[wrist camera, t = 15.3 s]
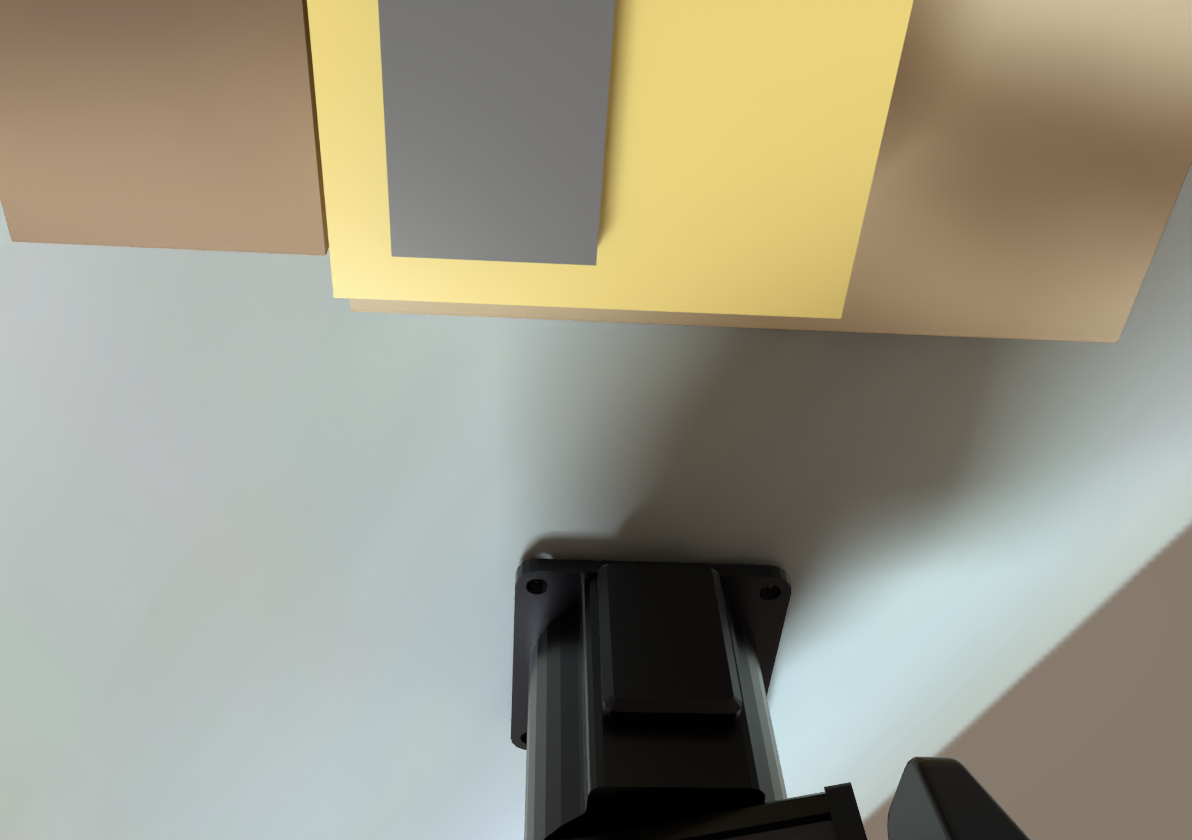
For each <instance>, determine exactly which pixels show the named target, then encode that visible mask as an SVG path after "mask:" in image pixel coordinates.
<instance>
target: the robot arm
mask: <svg viewBox="0 0 1192 840" xmlns="http://www.w3.org/2000/svg"><path fill="white" fill-rule="evenodd" d="M531 579H542V580H544V581H543V582H538V583H536V582H532V581H530V580H531ZM767 585H775V586H773V587H772V588H766V589H765V588H763V587H765V586H767ZM790 595H791V586H790V582H789V578H788V575H787V573H786V572H785V570H783V569H781V568H780V567H777V566H772V565H740V564H703V563H667V562H631V561H594V560H558V559H533V560H528V561H526V562H524V563H522V564H521V565H520V566H519V567H518V569H517V572H516V582H515V614H514V649H513V684H512V719H511V740H512V743H513V744H514V745H515V746H516V747H519V748H521V749H524V750H527V761H526V796H525V831H524V840H867V837H866V834H865V830H864V827H863V823H862V820H861V816H860V813H859V810H858V806H857V803H856V799H855V796H854V792H853V789H852V785H851V782H849V783H844V784H838V785H833V786H827V787H824V789H825V792H821V793H815V794H810V795H804V796H799V797H793V798H788V799H787V795H786V790H785V785H784V780H783V775H782V770H781V766H780V761H779V756H778V751H777V746H776V741H775V736H774V732H773V727H772V722H771V717H770V712H769V707H768V703H767V698H766V696H767V692H768V687H769V683H770V679H771V675H772V671H773V666H774V662H775V658H776V654H777V650H778V646H779V641H780V637H781V633H782V629H783V625H784V620H785V616H786V612H787V608H788V604H789V600H790ZM888 839H889V840H1030V839H1029V838H1028V837H1027V836H1026V835H1025V833H1024V832H1023V831H1022V830H1021V829H1020V828H1019V827H1018V826H1017V825H1016V823H1015V822H1014V821H1013V820H1012V819H1011V818H1010V817H1009V815H1008V814H1007V813H1006V812H1005V811H1004V810H1003V809H1002V808H1001V806H1000V805H999V804H998V803H997V802H996V801H995V800H994V799H993V798H992V796H991V795H990V794H989V793H988V792H987V791H986V790H985V789H984V787H983V786H982V785H981V784H980V783H979V782H978V781H977V780H976V778H975V777H974V776H973V775H972V774H971V773H970V772H969V771H968V770H967V768H966V767H965V766H964V765H962V764H961V763H960V762H959V761H957V760H955V759H953V758H949V757H914V758H912V759H911V760H910V761H909V762H908V763H907V765H906V767H905V769H904V772H903V774H902V777H901V780H900V782H899V785H898V788H897V790H896V793H895V796H894V798H893V801H892V803H891V806H890V810H889V813H888Z"/></svg>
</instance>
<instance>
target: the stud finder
mask: <svg viewBox="0 0 1192 840" xmlns="http://www.w3.org/2000/svg"><path fill="white" fill-rule="evenodd" d="M912 5H913V0H307V7H308V18H309V29H310V40H311V51H312V62H313V73H314V84H315V95H316V106H317V118H318V129H319V140H320V151H321V162H322V173H323V184H324V195H325V206H326V217H327V228H328V239H329V250H330V261H331V272H332V283H333V294H334V298H356V299H380V300H404V301H428V302H451V303H475V304H499V305H523V306H547V307H571V308H595V309H619V310H643V311H667V312H691V313H715V314H738V315H762V316H786V317H810V318H834V319H841V316H842V311H843V307H844V303H845V298H846V294H847V289H848V285H849V281H850V276H851V272H852V268H853V263H854V259H855V254H856V250H857V246H858V241H859V237H860V233H861V228H862V224H863V219H864V215H865V211H866V206H867V202H868V197H869V193H870V189H871V184H872V180H873V176H874V171H875V167H876V162H877V158H878V154H879V149H880V145H881V141H882V136H883V132H884V127H885V123H886V119H887V114H888V110H889V105H890V101H891V97H892V92H893V88H894V84H895V79H896V75H897V70H898V66H899V62H900V57H901V53H902V49H903V44H904V40H905V35H906V31H907V27H908V22H909V18H910V13H911V9H912Z"/></svg>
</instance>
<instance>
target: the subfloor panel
mask: <svg viewBox="0 0 1192 840" xmlns="http://www.w3.org/2000/svg"><path fill="white" fill-rule="evenodd" d="M1191 163H1192V0H913V5H912V9H911V13H910V18H909V22H908V27H907V31H906V35H905V40H904V44H903V49H902V53H901V57H900V62H899V66H898V70H897V75H896V79H895V84H894V88H893V92H892V97H891V101H890V105H889V110H888V114H887V119H886V123H885V127H884V132H883V136H882V141H881V145H880V149H879V154H878V158H877V162H876V167H875V171H874V176H873V180H872V184H871V189H870V193H869V197H868V202H867V206H866V211H865V215H864V219H863V224H862V228H861V233H860V237H859V241H858V246H857V250H856V254H855V259H854V263H853V268H852V272H851V276H850V281H849V285H848V289H847V294H846V298H845V303H844V307H843V311H842V316H841V319H834V318H810V317H786V316H762V315H738V314H715V313H691V312H667V311H643V310H619V309H595V308H571V307H547V306H523V305H499V304H475V303H451V302H428V301H404V300H380V299H356V298H350V310H351V311H360V312H384V313H407V314H431V315H455V316H479V317H503V318H527V319H551V320H575V321H599V322H623V323H647V324H671V325H695V326H719V327H743V328H767V329H790V330H814V331H838V332H862V333H886V334H910V335H934V336H958V337H982V338H1006V339H1030V340H1054V341H1078V342H1102V343H1118V341H1119V338H1120V336H1121V333H1122V331H1123V328H1124V326H1125V324H1126V321H1127V319H1128V316H1129V314H1130V311H1131V309H1132V306H1133V304H1134V302H1135V299H1136V297H1137V294H1138V292H1139V289H1140V287H1141V285H1142V282H1143V280H1144V277H1145V275H1146V272H1147V270H1148V267H1149V265H1150V263H1151V260H1152V258H1153V255H1154V253H1155V250H1156V248H1157V246H1158V243H1159V241H1160V238H1161V236H1162V233H1163V231H1164V228H1165V226H1166V224H1167V221H1168V219H1169V216H1170V214H1171V211H1172V209H1173V207H1174V204H1175V202H1176V199H1177V197H1178V194H1179V192H1180V189H1181V187H1182V185H1183V182H1184V180H1185V177H1186V175H1187V172H1188V170H1189V167H1190V165H1191Z"/></svg>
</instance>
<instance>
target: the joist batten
mask: <svg viewBox="0 0 1192 840" xmlns="http://www.w3.org/2000/svg"><path fill="white" fill-rule="evenodd" d="M0 200H1V204H2V207H3V211H4V214H5V218H6V221H7V225H8V229H9V232H10V236H11V239H12V241H14V242H36V243H58V244H80V245H103V246H125V247H147V248H169V249H191V250H214V251H236V252H258V253H280V254H303V255H326V253H327V250H328V248H329V239H328V228H327V217H326V206H325V195H324V184H323V173H322V162H321V151H320V140H319V129H318V118H317V106H316V95H315V84H314V73H313V62H312V51H311V40H310V29H309V18H308V7H307V0H0Z"/></svg>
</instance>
